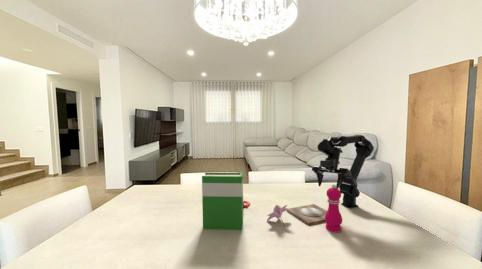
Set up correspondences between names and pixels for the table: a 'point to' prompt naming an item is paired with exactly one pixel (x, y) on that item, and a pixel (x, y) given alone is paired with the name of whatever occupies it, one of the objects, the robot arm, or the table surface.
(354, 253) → the table surface
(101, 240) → the table surface
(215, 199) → the hardback book
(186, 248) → the table surface
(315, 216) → the brown flat square slab
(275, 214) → the lily
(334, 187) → the pepper mill
